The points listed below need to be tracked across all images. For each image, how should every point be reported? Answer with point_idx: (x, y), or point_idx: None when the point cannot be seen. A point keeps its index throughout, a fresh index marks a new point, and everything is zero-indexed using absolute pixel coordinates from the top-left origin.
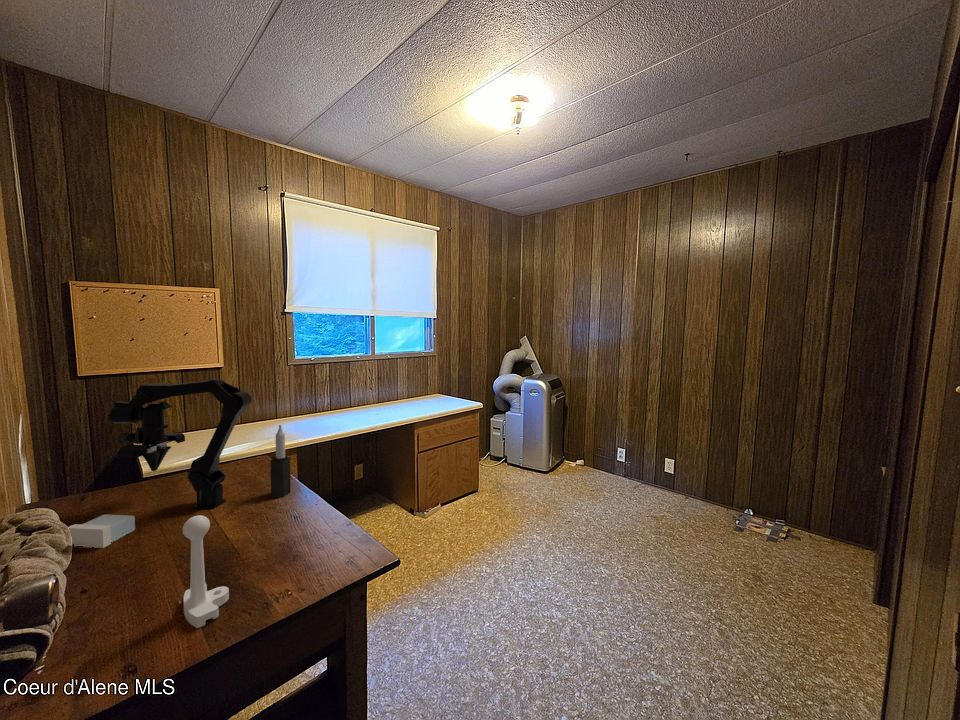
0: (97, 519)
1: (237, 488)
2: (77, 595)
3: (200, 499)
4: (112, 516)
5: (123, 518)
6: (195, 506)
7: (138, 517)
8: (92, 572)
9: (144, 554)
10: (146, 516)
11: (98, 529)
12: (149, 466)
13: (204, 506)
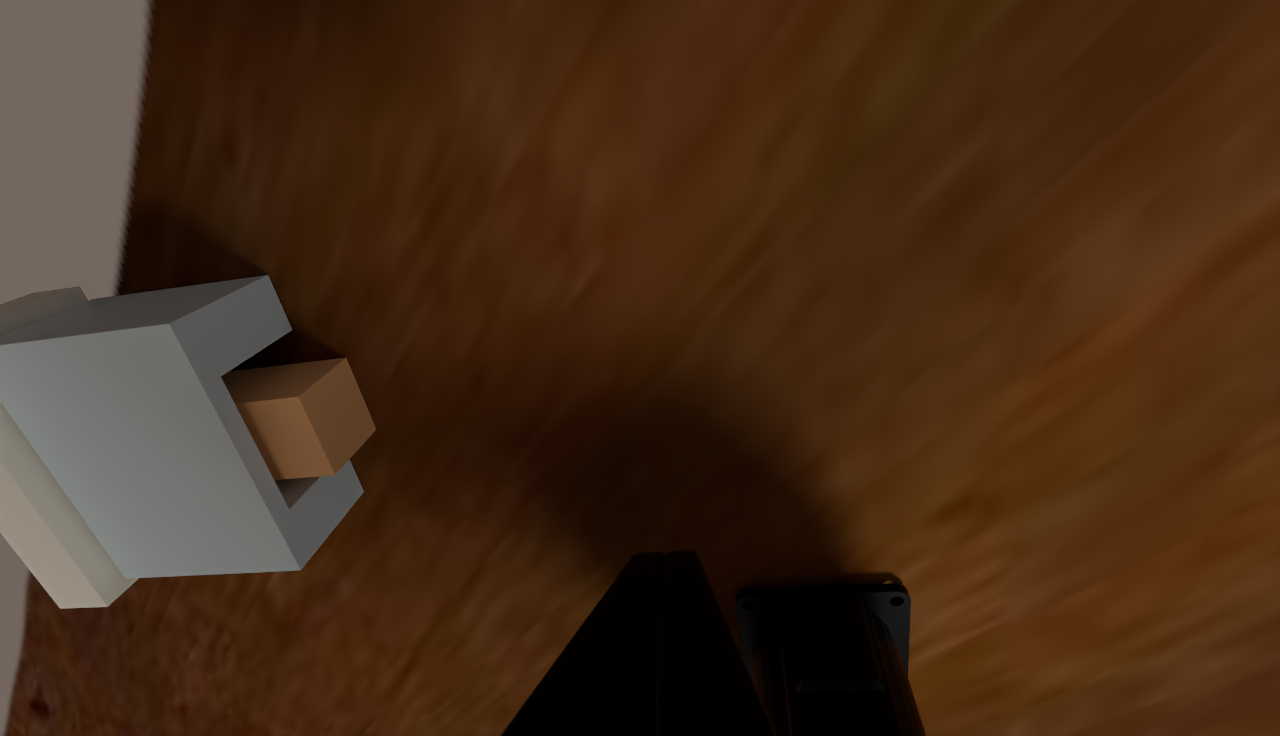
0: (102, 372)
1: (1189, 628)
2: (20, 708)
3: (762, 678)
4: (198, 433)
5: (234, 540)
6: (750, 598)
7: (493, 338)
8: (83, 643)
9: (263, 710)
10: (528, 382)
11: (42, 583)
12: (571, 643)
13: (752, 658)
